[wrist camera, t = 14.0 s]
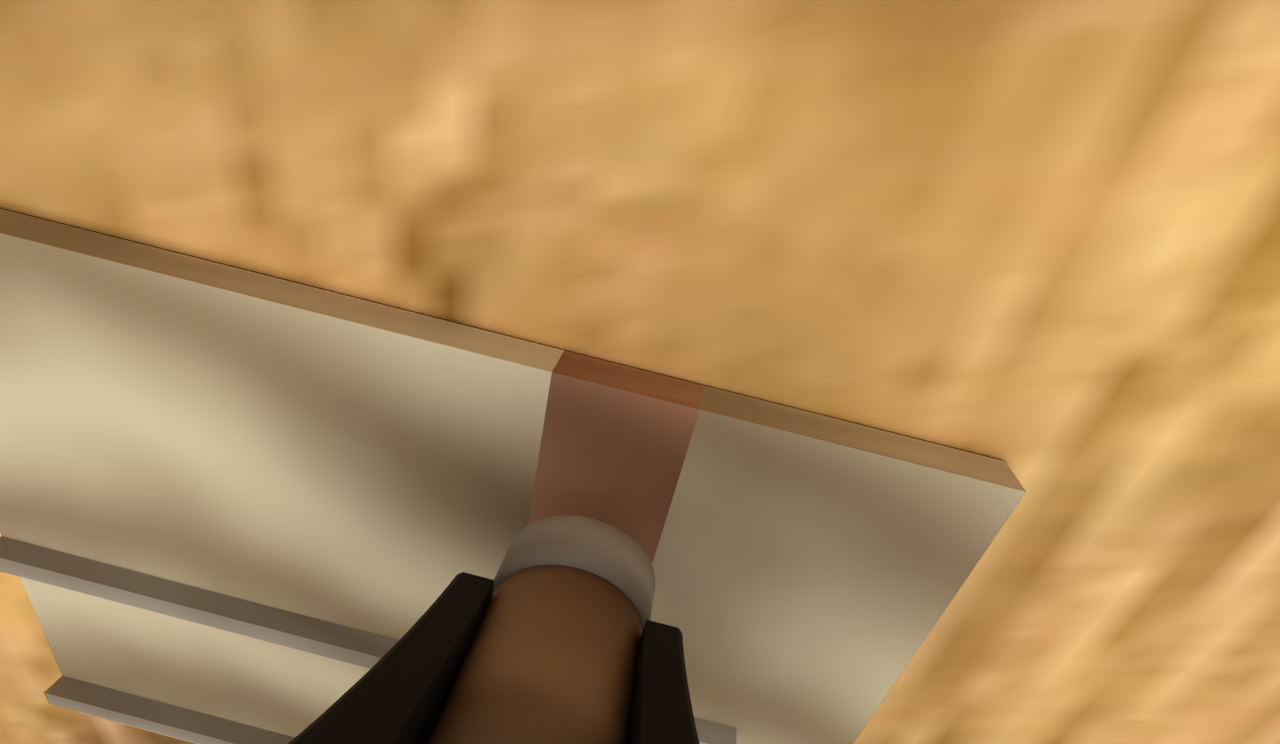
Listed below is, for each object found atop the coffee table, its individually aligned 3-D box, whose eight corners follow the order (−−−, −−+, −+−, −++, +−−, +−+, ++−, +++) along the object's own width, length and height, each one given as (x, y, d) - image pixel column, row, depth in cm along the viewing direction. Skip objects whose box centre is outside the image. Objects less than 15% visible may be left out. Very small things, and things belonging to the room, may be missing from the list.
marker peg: (658, 631, 13) (609, 1022, 8) (518, 620, 13) (382, 981, 8) (651, 520, 11) (586, 909, 6) (494, 511, 12) (310, 867, 7)
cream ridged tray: (750, 857, 21) (751, 914, 20) (105, 685, 21) (61, 729, 20) (1005, 461, 12) (1039, 512, 11) (-86, 187, 13) (-187, 202, 11)
